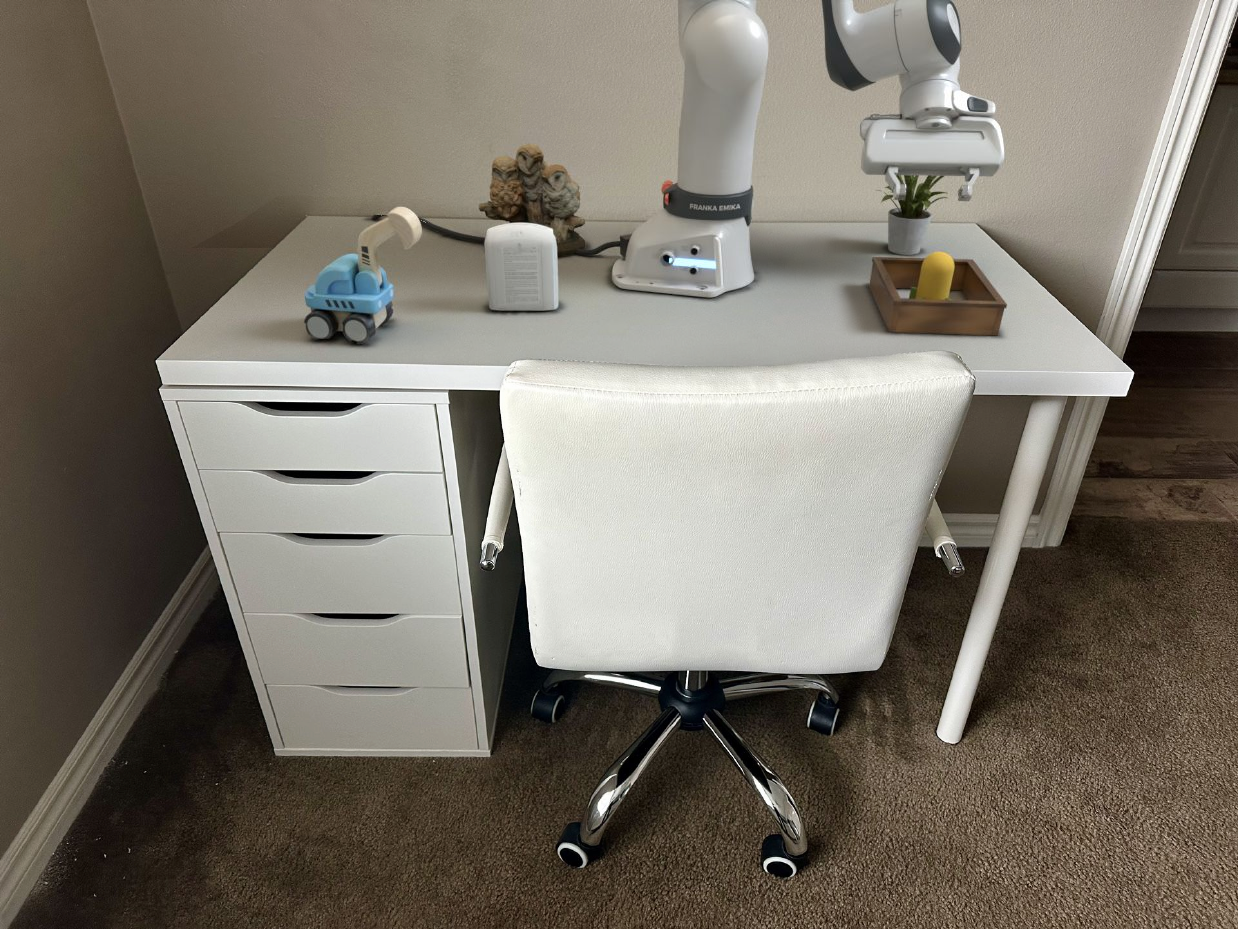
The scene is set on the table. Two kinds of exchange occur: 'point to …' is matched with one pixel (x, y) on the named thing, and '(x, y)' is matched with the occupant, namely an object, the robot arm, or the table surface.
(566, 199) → the owl figurine
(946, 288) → the corn plush toy
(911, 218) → the house plant
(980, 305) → the wooden box
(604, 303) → the table surface
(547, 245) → the white rounded block
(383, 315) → the toy excavator
